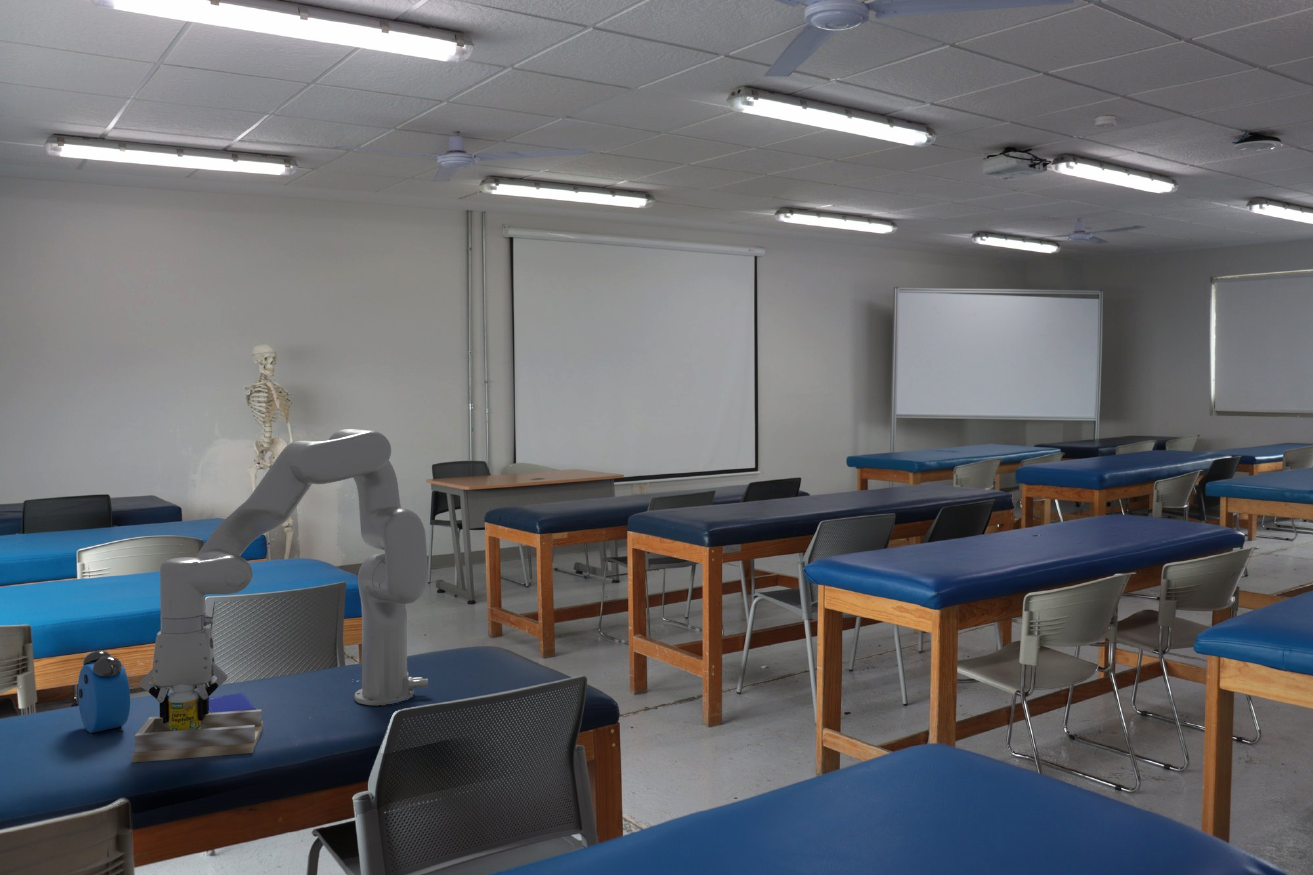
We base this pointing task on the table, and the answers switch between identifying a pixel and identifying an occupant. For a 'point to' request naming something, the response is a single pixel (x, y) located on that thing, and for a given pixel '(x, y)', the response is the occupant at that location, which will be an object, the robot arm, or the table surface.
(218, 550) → the robot arm
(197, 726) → the supplement bottle
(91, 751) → the table surface
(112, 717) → the alarm clock
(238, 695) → the hard drive
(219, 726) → the rail holder
